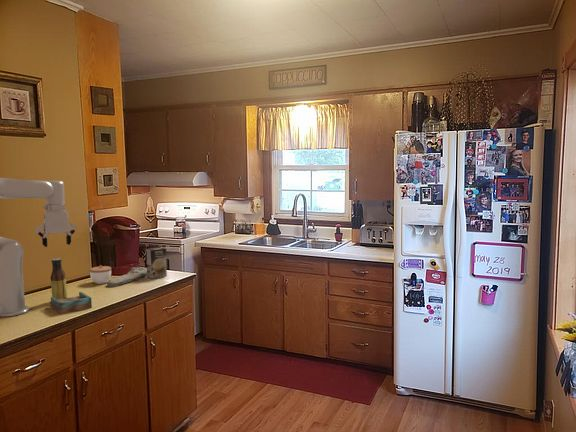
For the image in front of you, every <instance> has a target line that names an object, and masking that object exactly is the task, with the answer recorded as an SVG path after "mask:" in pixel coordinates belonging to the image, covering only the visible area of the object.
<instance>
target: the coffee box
mask: <svg viewBox="0 0 576 432" xmlns="http://www.w3.org/2000/svg"><path fill="white" fill-rule="evenodd" d="M167 267H168V266H167V248H165V247H161V246H159V247H151V248H146V268H147V276H146V277H147V278H149V279H158V278H159V279H160V278H166V277H168V276H167V273H168V269H167Z"/></svg>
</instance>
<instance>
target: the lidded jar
mask: <svg viewBox="0 0 576 432" xmlns="http://www.w3.org/2000/svg"><path fill="white" fill-rule="evenodd" d="M89 275H90V279H91V280H92V282H94V283H95V284H97V285H103V284H104V285H105V284H107V282H108V281H109V280H111V277H112V267H111V266H108V265H107V266H106V265H104V266H103V265H101V264H99V266H94V267H91V268H89Z"/></svg>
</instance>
